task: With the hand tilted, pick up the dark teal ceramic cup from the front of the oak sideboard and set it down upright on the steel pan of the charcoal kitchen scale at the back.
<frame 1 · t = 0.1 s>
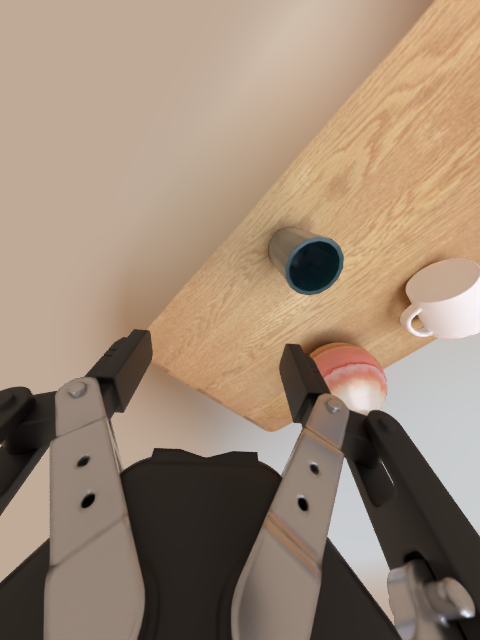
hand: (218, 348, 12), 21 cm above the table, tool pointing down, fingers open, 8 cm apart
vase: (325, 356, 41), on the table
cup: (287, 248, 29), on the table
mug: (420, 294, 34), on the table
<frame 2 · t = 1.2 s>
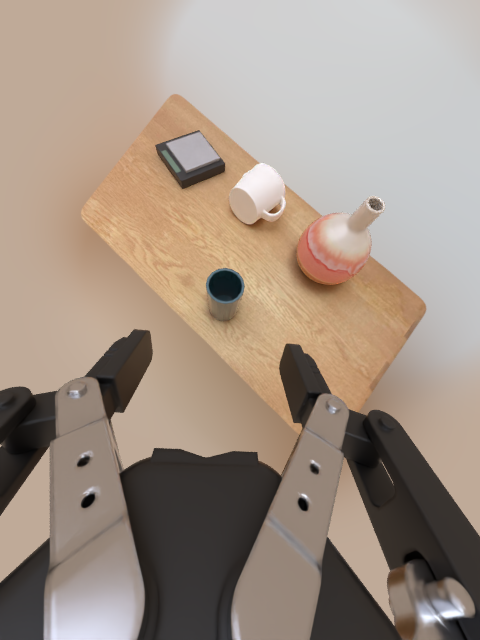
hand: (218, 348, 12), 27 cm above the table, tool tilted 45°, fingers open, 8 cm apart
scale: (191, 162, 49), on the table
vase: (316, 266, 46), on the table
cup: (223, 307, 40), on the table
mug: (256, 213, 47), on the table
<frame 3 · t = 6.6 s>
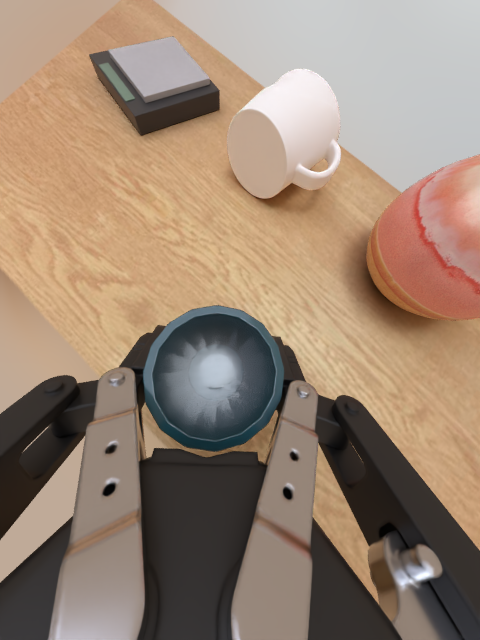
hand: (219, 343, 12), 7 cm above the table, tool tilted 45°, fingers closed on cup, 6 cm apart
scale: (159, 93, 27), on the table
vase: (394, 277, 24), on the table
cup: (216, 371, 19), on the table, touching gripper
mug: (277, 180, 26), on the table
when the fingers open (10 cm above the table, at t = 18.2 s): cup stays where it is, resting on scale.
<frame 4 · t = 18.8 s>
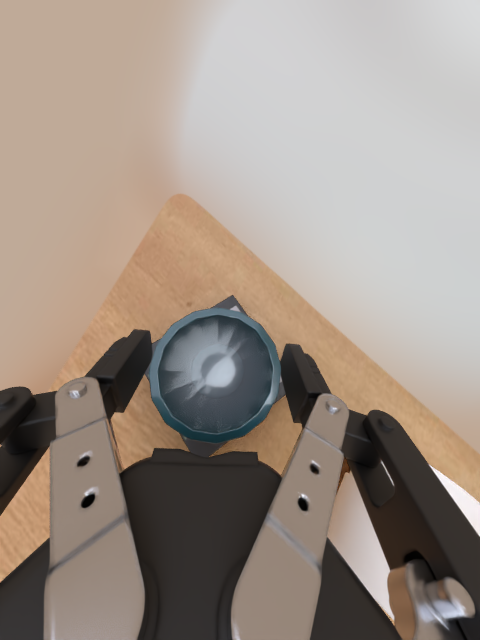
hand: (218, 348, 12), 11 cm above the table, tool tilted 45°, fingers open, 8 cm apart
scale: (217, 370, 22), on the table
cup: (217, 370, 19), point 3 cm above the table, touching scale
mug: (370, 498, 20), on the table
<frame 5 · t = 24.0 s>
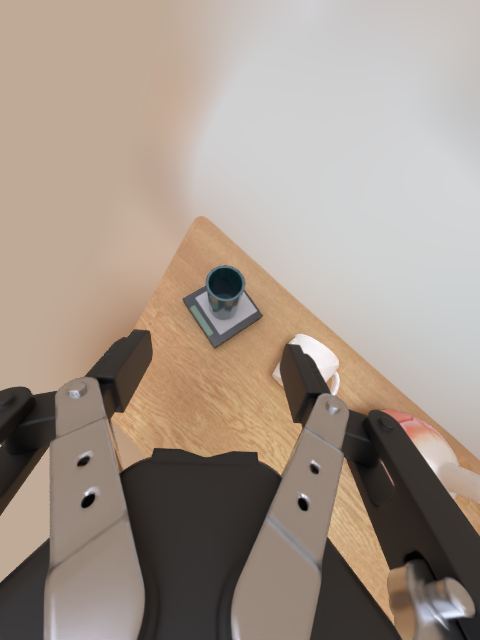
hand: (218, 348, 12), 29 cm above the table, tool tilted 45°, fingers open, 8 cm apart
scale: (222, 310, 42), on the table
vase: (372, 441, 39), on the table
cup: (223, 306, 40), point 3 cm above the table, touching scale
mug: (299, 372, 41), on the table
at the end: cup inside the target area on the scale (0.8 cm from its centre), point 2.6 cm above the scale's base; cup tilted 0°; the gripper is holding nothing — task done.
